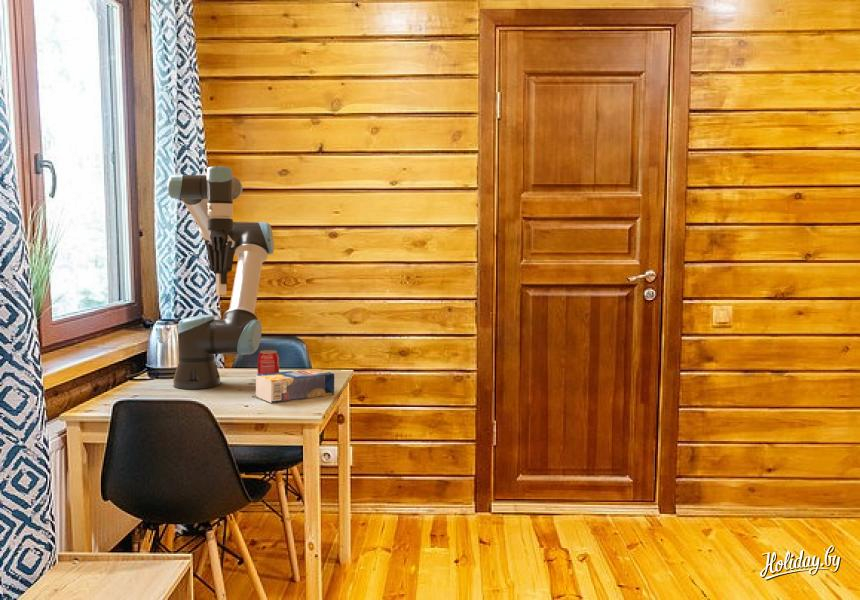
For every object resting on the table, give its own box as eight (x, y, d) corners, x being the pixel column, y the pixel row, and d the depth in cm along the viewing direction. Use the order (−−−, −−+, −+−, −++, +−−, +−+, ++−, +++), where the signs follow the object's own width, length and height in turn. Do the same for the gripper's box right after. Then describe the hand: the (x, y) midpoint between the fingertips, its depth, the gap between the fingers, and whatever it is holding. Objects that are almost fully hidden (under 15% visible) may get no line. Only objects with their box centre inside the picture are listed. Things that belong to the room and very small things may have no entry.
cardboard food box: (255, 396, 234) (317, 388, 248) (271, 403, 225) (334, 394, 239) (255, 374, 233) (317, 368, 247) (271, 380, 225) (334, 373, 238)
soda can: (270, 383, 255) (270, 348, 254) (283, 386, 250) (283, 351, 249) (253, 386, 249) (253, 351, 248) (266, 389, 245) (266, 353, 244)
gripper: (197, 217, 228) (198, 293, 231) (223, 217, 221) (224, 296, 223) (217, 217, 234) (218, 292, 237) (243, 218, 226) (244, 295, 229)
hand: (221, 294), depth 230 cm, fingers closed
